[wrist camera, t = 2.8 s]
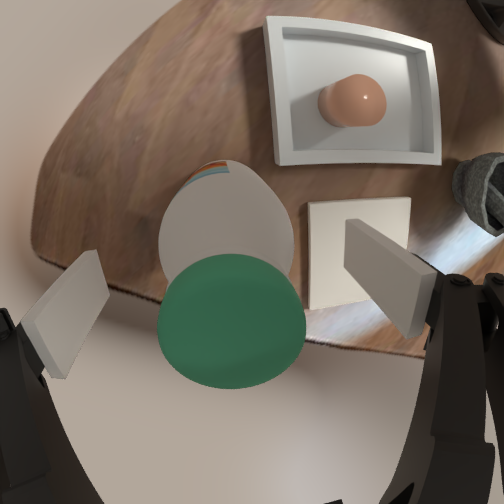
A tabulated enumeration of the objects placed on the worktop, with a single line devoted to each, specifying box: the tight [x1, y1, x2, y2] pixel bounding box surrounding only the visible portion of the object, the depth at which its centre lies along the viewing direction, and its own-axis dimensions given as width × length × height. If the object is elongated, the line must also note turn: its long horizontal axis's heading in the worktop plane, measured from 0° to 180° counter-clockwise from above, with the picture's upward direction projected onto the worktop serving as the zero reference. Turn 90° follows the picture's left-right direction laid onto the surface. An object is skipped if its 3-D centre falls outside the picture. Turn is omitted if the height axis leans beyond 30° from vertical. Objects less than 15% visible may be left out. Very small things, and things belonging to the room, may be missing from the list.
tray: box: [263, 16, 441, 166], centre depth 22 cm, size 18×14×2 cm
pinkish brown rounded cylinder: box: [318, 74, 387, 127], centre depth 21 cm, size 4×4×5 cm
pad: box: [308, 196, 411, 310], centre depth 30 cm, size 12×12×1 cm
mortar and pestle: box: [452, 153, 504, 237], centre depth 23 cm, size 11×9×12 cm
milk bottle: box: [157, 160, 306, 389], centre depth 17 cm, size 8×8×20 cm
